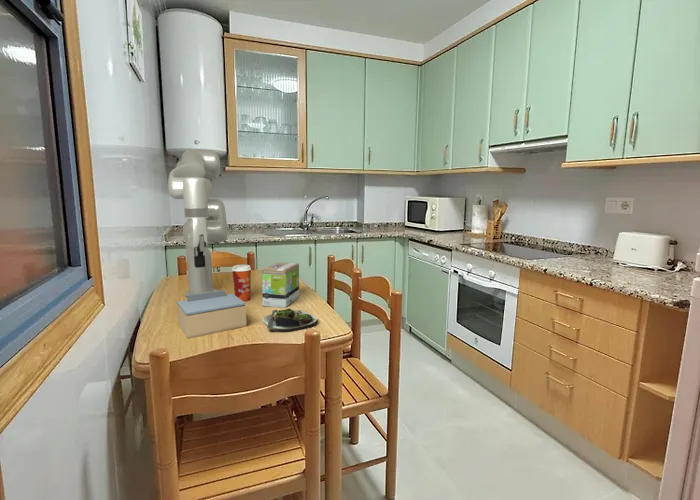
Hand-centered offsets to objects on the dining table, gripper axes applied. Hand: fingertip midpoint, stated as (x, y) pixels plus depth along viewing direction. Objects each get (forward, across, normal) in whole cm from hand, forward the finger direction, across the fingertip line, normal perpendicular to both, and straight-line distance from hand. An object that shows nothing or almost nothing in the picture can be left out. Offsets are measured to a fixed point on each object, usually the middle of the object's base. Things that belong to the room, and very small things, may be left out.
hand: (200, 266), depth 129 cm
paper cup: (+18, -11, +18) cm, 28 cm away
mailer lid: (+10, +12, 0) cm, 16 cm away
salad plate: (+19, +24, +22) cm, 38 cm away
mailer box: (+18, +12, 0) cm, 21 cm away
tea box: (+18, 0, +30) cm, 35 cm away
